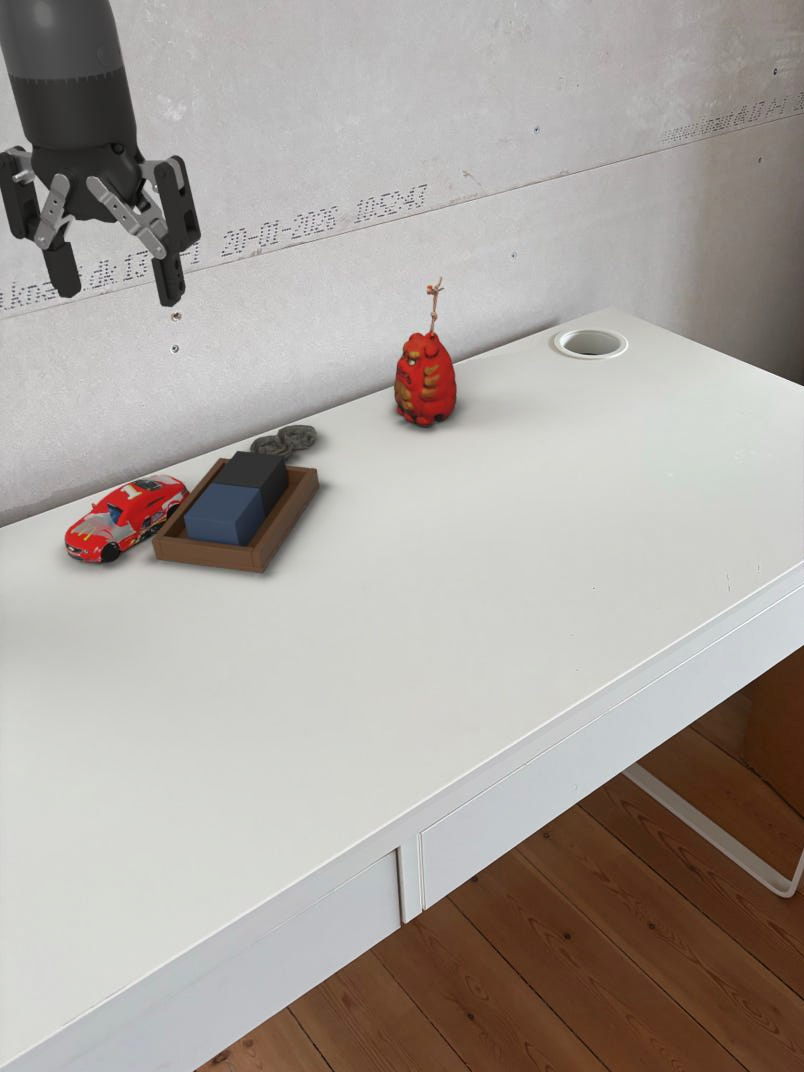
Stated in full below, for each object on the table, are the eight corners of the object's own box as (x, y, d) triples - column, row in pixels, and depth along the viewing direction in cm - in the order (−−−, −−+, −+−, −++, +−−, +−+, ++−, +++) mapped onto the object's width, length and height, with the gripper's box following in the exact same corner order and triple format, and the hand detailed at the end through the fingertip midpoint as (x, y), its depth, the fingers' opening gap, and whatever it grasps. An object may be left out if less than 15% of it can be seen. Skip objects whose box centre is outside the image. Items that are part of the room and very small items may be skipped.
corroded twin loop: (328, 442, 110) (327, 434, 109) (269, 470, 106) (267, 461, 105) (299, 427, 113) (298, 418, 112) (240, 454, 108) (238, 445, 108)
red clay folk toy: (384, 409, 116) (373, 279, 106) (436, 392, 119) (430, 265, 109) (418, 435, 111) (411, 302, 102) (472, 418, 114) (469, 286, 104)
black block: (218, 512, 99) (212, 481, 97) (243, 480, 103) (237, 450, 101) (266, 518, 98) (260, 487, 96) (288, 485, 103) (284, 455, 100)
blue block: (190, 548, 94) (183, 516, 92) (217, 513, 99) (211, 482, 97) (240, 554, 93) (234, 523, 91) (265, 519, 98) (260, 488, 96)
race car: (92, 575, 92) (80, 539, 90) (56, 555, 95) (43, 519, 92) (203, 510, 100) (194, 475, 98) (167, 493, 103) (158, 458, 100)
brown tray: (156, 559, 94) (151, 539, 93) (223, 475, 105) (219, 457, 104) (262, 573, 92) (259, 553, 91) (319, 487, 103) (317, 468, 102)
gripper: (187, 55, 69) (226, 288, 80) (2, 46, 72) (63, 274, 82) (135, 78, 64) (184, 326, 74) (-64, 68, 66) (11, 309, 77)
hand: (121, 298), depth 78 cm, fingers open, 8 cm apart
